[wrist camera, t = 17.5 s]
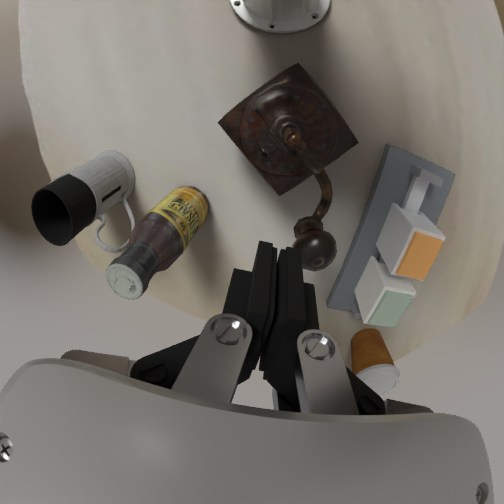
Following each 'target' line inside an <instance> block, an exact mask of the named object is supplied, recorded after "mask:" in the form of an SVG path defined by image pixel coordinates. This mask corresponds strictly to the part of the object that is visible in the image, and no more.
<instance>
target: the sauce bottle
mask: <svg viewBox="0 0 504 504" xmlns="http://www.w3.org/2000/svg"><path fill="white" fill-rule="evenodd" d="M207 213H208V200H207V198H206V196H205V195H204V193H203V192H202V191H200V190H199V189H197V188H195V187H192V186H183V187H179V188H178V189H176V190H174V191H172V192H171V193H170V194H169V195H168V196H167V197H165V198H164V199H163V200H162V201H161V202H160V203H159V204H157V205H156V206H155V207H154V208H153V209H152V210H150V211H149V212H148V213H147V214H146V215H145V216H144V217H143V218H142V220H140V221H139V222H138V223H137V224H136V225H135V226H134V228H133V230H132V231H131V234H130V237H129V246H128V247H127V249H126V251H125V252H124V253H123V254H122V255H121V256H120V257H118V258H116V259H114V260H113V262H112V263H111V264H110V265H109V267H108V268H107V270H106V279H107V282H108V284H109V286H110V287H111V288H112V289H113V291H114V292H115V293H116V294H118V295H119V296H121V297H123V298H126V299H129V300H134V299H138V298H139V297H140V296H141V295H142V294H143V293H144V292H145V290H146V289H147V287H148V284H149V281H150V279H151V278H152V276H153V275H154V274H155V273H156V272H159V271H164V270H166V269H168V268H169V267H170V266H171V265H172V264H173V262H174V261H175V260H176V259H177V258H178V257H179V256H180V255H181V254H182V253H183V252H184V250H185V249H186V247H187V246H188V244H189V243H190V241H191V240H192V238H193V237H194V235H195V234H196V232H197V231H198V229H199V228H200V226H201V225H202V223H203V222H204V220H205V218H206V216H207Z"/></svg>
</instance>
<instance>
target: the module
mask: <svg viewBox="0 0 504 504" xmlns="http://www.w3.org/2000/svg"><path fill="white" fill-rule="evenodd" d="M445 238H446V237H445V236H444V235H443V234H442V232H441V231H440V230H439V229H438V228H437V227H436V226H435V225H434V224H433V223H432V222H431V221H430V220H429V219H428V218H427V217H426V215H425V214H424V213H422V212H418V214H417V213H414V212H411V211H408V210H405V209H402V208H400V207H399V205H398V204H396V203H392V205H391V208H390V211H389V213H388V216H387V218H386V221H385V223H384V226H383V228H382V231H381V233H380V235H379V238H378V240H377V242H376V246H377V248H378V250H379V252H380V254H381V256H382V258H383V260H384V262H385V264H386V266H387V268H388V270H389V272H390V274H392V275H397V276H401V277H406V278H411V279H415V280H420V281H423V280H424V279H425V277H426V275H427V273H428V271H429V270H430V268H431V266H432V264H433V262H434V260H435V258H436V256H437V254H438V252H439V251H440V249H441V247H442V244H443V242H444V240H445Z"/></svg>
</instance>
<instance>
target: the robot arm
mask: <svg viewBox="0 0 504 504" xmlns="http://www.w3.org/2000/svg"><path fill="white" fill-rule="evenodd" d="M230 3H231V5H232V8H233V9H234V11H235V13H236V14H237V15H238V16H239V17H240V18H241V19H242V20H243V21H244V22H246V23H247V24H249V25H251V26H253V27H254V28H257V29H260V30H262V31H266V32H271V33H283V34H284V33H294V32H298V31H302V30H305V29H307V28H310V27H312V26H313V25H315V24H316V23H318V22H319V21H320V20H321V19H322V18H323V17H324V15H325V14H326V12H327V10H328V8H329V5H330V0H230ZM237 4H240V6H237ZM313 16H314V17H316V19H313V18H312V17H313ZM270 26H274V28H270ZM259 357H260V363H259V371H264V376H263V379H264V380H267V381H268V382H269V384H271V386H272V387H273V392H272V396H273V404H274V410H270V409H262V408H256V407H249V406H244V405H237V404H232V403H231V402H232V399H233V396H234V394H235V391H236V388H237V385H238V384H240V383H242V382H244V381H245V380H247V379H249V378H250V375H251V372H252V370H255V368H256V365H257V363H258V360H259ZM0 504H494V495H493V484H492V476H491V471H490V465H489V460H488V455H487V451H486V448H485V444H484V441H483V439H482V436H481V433H480V431H479V429H478V428H477V426H476V425H475V424H474V423H472V422H471V421H469V420H467V419H465V418H462V417H459V416H456V415H451V414H445V413H434V412H433V411H432V410H431V409H430V408H428V407H425V406H420V405H415V404H410V403H405V402H400V401H396V400H391V399H386V400H385V401H383V400H382V398H381V397H380V396H379V395H378V394H377V393H376V392H375V391H373V390H372V389H371V388H370V387H369V386H368V385H366V384H365V383H364V382H363V381H362V380H361V379H359V378H358V377H357V376H356V375H355V374H354V373H353V372H351V371H350V370H349V369H348V368H347V367H346V366H345V364H344V361H343V357H342V354H341V351H340V348H339V345H338V343H337V341H336V340H335V339H334V338H333V337H332V336H331V335H329V334H328V333H326V332H324V331H321V330H319V323H318V314H317V305H316V297H315V289H314V285H313V284H309V283H304V281H303V270H302V259H301V250H300V249H296V248H292V247H286V250H284V249H281V251H280V254H279V257H278V261H277V248H274V247H273V243H268V242H263V241H259V244H258V249H257V253H256V257H255V262H254V266H253V270H252V272H250V271H245V270H240V269H236V268H234V270H233V274H232V278H231V282H230V286H229V289H228V293H227V297H226V301H225V305H224V309H223V313H222V314H219V315H215V316H214V317H212V318H210V319H209V321H208V322H207V323H206V325H205V327H204V329H203V330H202V332H201V334H200V335H198V336H196V337H193V338H191V339H188V340H186V341H183V342H181V343H178V344H176V345H173V346H171V347H169V348H166V349H163V350H161V351H158V352H156V353H153V354H150V355H148V356H145V357H143V358H141V359H139V360H138V361H134V360H129V358H128V357H124V356H116V355H108V354H102V353H94V352H88V351H83V350H70V351H68V352H66V353H65V354H63V355H62V356H61V358H60V359H58V358H45V359H36V360H32V361H29V362H27V363H25V364H24V365H22V366H21V367H20V368H19V369H18V370H17V371H16V372H15V373H14V374H13V375H12V377H11V378H10V379H9V381H8V382H7V383H6V385H5V386H4V388H3V389H2V391H1V393H0Z"/></svg>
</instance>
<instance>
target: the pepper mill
mask: <svg viewBox="0 0 504 504" xmlns="http://www.w3.org/2000/svg"><path fill="white" fill-rule="evenodd" d="M218 124H219V125H220V126H221V127H222V129H223V130H224V131H225V132H226V133H227V135H228V136H229V137H230V138H231V140H232V141H233V142H234V143H235V145H236V146H237V147H238V148H239V149H240V150H241V152H242V153H243V154H244V155H245V156H246V158H247V159H248V160H249V161H250V163H251V164H252V165H253V166H254V167H255V168H256V169H257V171H258V172H259V173H260V174H261V176H262V177H263V178H264V179H265V181H266V182H267V183H268V184H269V185H270V186H271V187H272V188H273V189H274V190H275V191H276V193H277V194H278V195H279V196H280V195H282V194H284V193H285V192H287V191H289V190H291V189H292V188H294V187H295V186H297V185H298V184H300V183H302V182H303V181H304V180H306V179H307V178H309V177H310V176H312V175H313V174H314V175H315V177H316V179H317V181H318V182H319V184H320V187H321V191H322V194H321V200H320V202H319V204H318V206H317V208H316V210H315V212H314V214H313V215H312V216H309V217H305V218H302V219H300V220H298V222H297V223H296V225H295V226H294V233H295V238H297V239H296V241H295V242H294V244H293V248H296V249H300V250H301V259H302V268H303V269H307V270H311V271H318V270H321V269H324V268H326V267H327V266H328V265H329V264H330V263H332V262H333V260H334V258H335V256H336V253H337V249H336V241H335V239H334V237H333V236H332V235H331V234H330V233H329V232H326V231H323V223H322V222H321V220H322V218H323V217H324V216H325V214H326V213H327V211H328V209H329V207H330V204H331V200H332V188H331V182H330V179H329V177H328V175H327V173H326V171H325V169H324V168H323V167H325V166H327V165H328V164H330V163H331V162H333V161H335V160H336V159H338V158H339V157H340V156H341V155H342V154H344V153H345V152H346V151H348V150H349V149H351V148H352V147H353V146H355V145H356V144H357V143H358V141H357V139H356V138H355V136H354V134H353V133H352V131H351V130H350V128H349V126H348V125H347V123H346V122H345V120H344V119H343V117H342V116H341V115H340V113H339V112H338V110H337V109H336V107H335V106H334V105H333V103H332V102H331V100H330V99H329V98H328V96H327V95H326V94H325V92H324V91H323V90H322V89H321V88H320V86H319V85H318V84H317V83H316V82H315V81H314V80H313V78H312V77H311V76H310V75H309V74H308V73H307V72H306V71H305V70H304V69H303V68H302V66H301V65H300V64H299V63H297V64H295V65H293V66H291V67H289V68H288V69H286V70H284V71H283V72H281V73H279V74H278V75H276V76H275V77H274V78H272V79H271V80H269V81H268V82H266V83H265V84H264V85H262V86H261V87H260V88H258V89H257V90H256V91H254V92H253V93H252V94H250V95H249V96H248V97H246V98H245V99H244V100H242V101H241V102H240V103H238V104H237V105H236V106H235V107H234V108H233V109H231V110H230V111H229V112H228V113H227V114H226V115H224V117H223V118H222V119H221V120H220V121H219V122H218Z"/></svg>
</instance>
